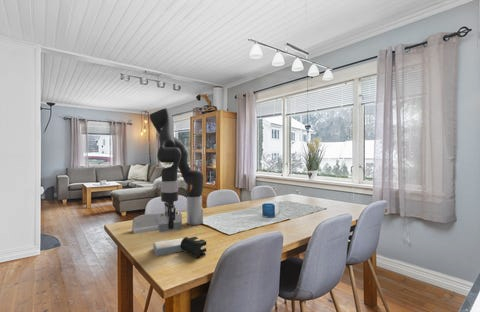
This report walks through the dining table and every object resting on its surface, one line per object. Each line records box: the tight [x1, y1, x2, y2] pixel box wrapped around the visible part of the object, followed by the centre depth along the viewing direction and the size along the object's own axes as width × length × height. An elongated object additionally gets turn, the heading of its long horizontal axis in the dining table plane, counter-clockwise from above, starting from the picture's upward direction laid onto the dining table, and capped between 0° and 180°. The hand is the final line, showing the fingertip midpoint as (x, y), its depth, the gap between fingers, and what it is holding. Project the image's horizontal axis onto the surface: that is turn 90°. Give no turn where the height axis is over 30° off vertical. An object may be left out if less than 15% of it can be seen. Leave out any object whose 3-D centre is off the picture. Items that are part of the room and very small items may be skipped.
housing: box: [157, 211, 183, 233], centre depth 116 cm, size 5×10×8 cm, turn 116°
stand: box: [152, 237, 184, 257], centre depth 116 cm, size 14×9×3 cm, turn 117°
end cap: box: [181, 236, 207, 259], centre depth 110 cm, size 10×7×7 cm
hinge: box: [131, 213, 158, 234], centre depth 145 cm, size 17×5×10 cm, turn 121°
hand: (169, 227), depth 116 cm, fingers closed on housing, 5 cm apart
